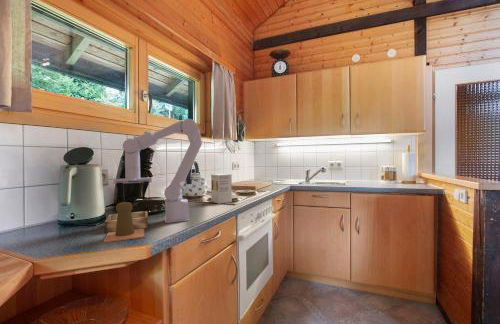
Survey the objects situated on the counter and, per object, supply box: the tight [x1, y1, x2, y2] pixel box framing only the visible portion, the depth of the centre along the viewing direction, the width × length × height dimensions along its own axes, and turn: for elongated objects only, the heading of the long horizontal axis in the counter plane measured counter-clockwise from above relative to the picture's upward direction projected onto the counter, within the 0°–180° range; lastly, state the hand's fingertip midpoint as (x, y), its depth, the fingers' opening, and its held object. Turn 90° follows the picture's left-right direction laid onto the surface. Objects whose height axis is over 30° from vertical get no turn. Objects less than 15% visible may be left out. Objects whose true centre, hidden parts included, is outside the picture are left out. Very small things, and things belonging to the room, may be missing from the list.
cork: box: [115, 201, 135, 236], centre depth 89 cm, size 6×6×11 cm
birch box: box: [104, 210, 149, 234], centre depth 101 cm, size 15×13×4 cm
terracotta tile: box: [103, 228, 145, 244], centre depth 88 cm, size 12×10×1 cm
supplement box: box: [210, 173, 233, 205], centre depth 152 cm, size 10×9×17 cm
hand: (133, 200), depth 106 cm, fingers open, 7 cm apart
